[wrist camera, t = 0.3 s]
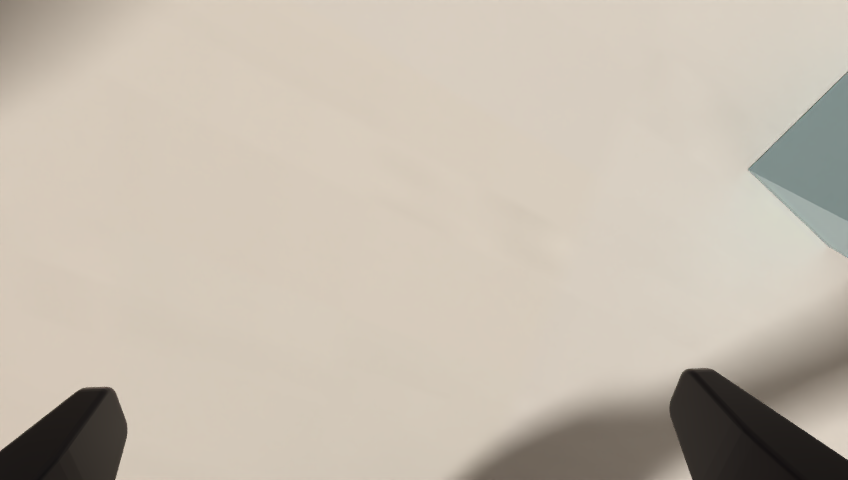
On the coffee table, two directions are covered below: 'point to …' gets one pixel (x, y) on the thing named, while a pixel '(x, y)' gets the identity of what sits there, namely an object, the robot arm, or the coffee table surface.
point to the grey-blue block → (814, 168)
